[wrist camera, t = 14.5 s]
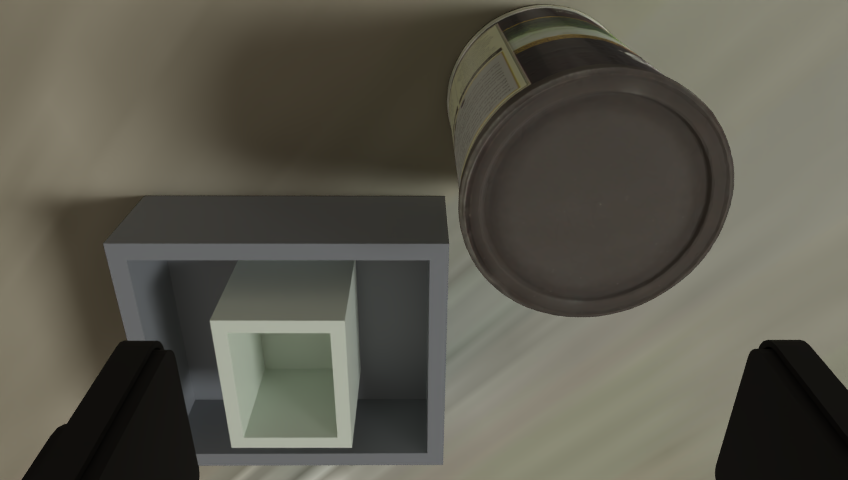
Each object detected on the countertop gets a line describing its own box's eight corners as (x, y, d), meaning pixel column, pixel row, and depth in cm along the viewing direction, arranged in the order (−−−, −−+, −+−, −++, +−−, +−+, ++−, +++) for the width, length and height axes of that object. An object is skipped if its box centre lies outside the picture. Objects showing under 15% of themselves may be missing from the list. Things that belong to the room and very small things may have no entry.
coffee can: (581, -37, 34) (676, 9, 22) (656, 128, 38) (771, 246, 26) (409, 67, 37) (407, 162, 24) (497, 212, 41) (534, 356, 28)
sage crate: (240, 254, 41) (209, 320, 35) (355, 254, 41) (344, 320, 35) (256, 370, 45) (231, 447, 39) (360, 370, 45) (351, 447, 39)
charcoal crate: (144, 195, 40) (103, 243, 35) (444, 196, 40) (449, 243, 35) (187, 400, 48) (158, 465, 42) (439, 400, 48) (443, 464, 42)
